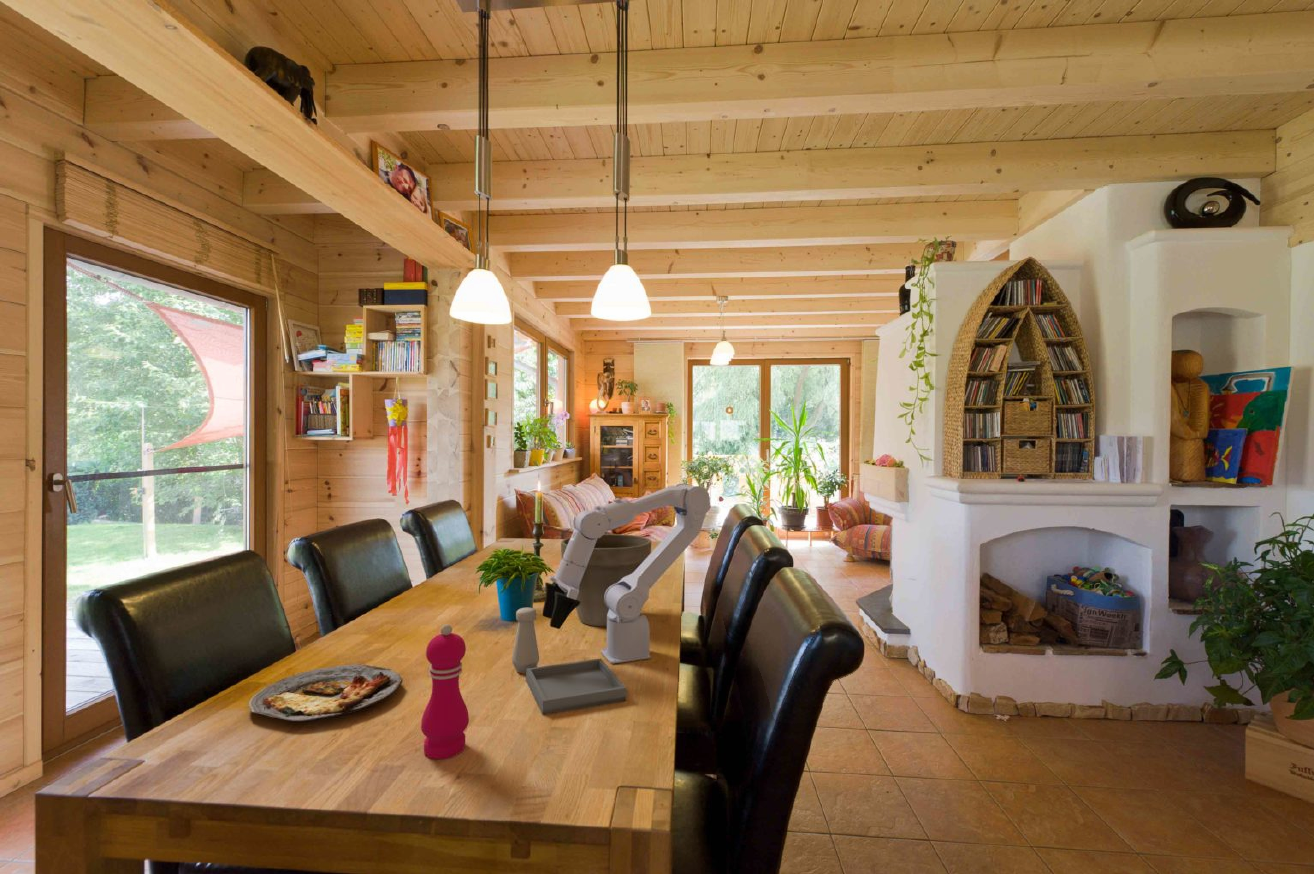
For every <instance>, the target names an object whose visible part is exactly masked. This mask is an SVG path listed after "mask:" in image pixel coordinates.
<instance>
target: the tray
mask: <svg viewBox="0 0 1314 874" xmlns="http://www.w3.org/2000/svg"><path fill="white" fill-rule="evenodd" d="M525 682H526V684H527V686H528V687H529V691H530V692H531V694H532V697H533V698H534V700H535V702H536V704H537V706H538V709H539V710H540V713H541V715H542V716H543V715H544V716H545V715H549V714H550V715H551V714H556V713H561V712H568V711H574V710H580V709H585V708H591V707H593V708H594V707H599V706H604V705H610V704H615V703H621V702H626V701H627V687H626V686H625V684H624V683H623V682H622V681H621V679H620V678H619V677H618V676H617V675H616V674H615V673H614V672H613V670H612V669H611V668H610V667H609V666H608V665H607V663H606V662H605V661H604V659H602V658H601V657H600V658H595V659H588V660H580V661H572V662H565V663H558V664H550V665H543V666H536V667H535V668H527V669H526V673H525Z"/></svg>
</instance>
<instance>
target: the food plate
mask: <svg viewBox="0 0 1314 874" xmlns="http://www.w3.org/2000/svg"><path fill="white" fill-rule="evenodd" d="M334 682H337V683H339V684H335V683H334ZM343 682H349V684H348V685H347V684H344V683H343ZM401 684H403V678H402V676H401V675H400V673H397V672H396V671H395V670H393V669H391V668H386V667H381V666H376V665H375V666H374V665H373V666H372V665H366V664H360V663H358V664H346V665H345V664H343V665H337V666H332V667H326V668H316V669H312V670H308V671H304V672H301V673H296V674H292V676H291V675H290V676H287V677H284V678H281V679H279V680H278V681H276V682H274V683H272V684H269V685H267V686H265V687H263V688H262V689H261V690H259V692H257V693H256V694H254V695H253V696H252V697H251V698H250V700H249V701H248V707H249V709H250V710H251V713H255V714H260V715H262V716H263V715H264V716H266V717H270V718H277V719H280V720H286V721H290V722H292V721H293V722H312V721H313V722H314V721H319V720H323V719H324V720H325V719H330V718H334V717H339V716H340V717H341V716H344V715H346V714H347V715H348V714H350V713H355V712H358V711H361V710H363V709H365V708H367V707H369V706H371V705H374V704H376V703H378V702H380V701H382V700H384V699H387V698H389V697H390V696H392V695H393V694H395V693H396V692H397V690H398V689H399V687H400V686H401ZM300 691H301V692H302V693H306V694H307V695H303V694H298V693H297V692H300Z"/></svg>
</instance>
